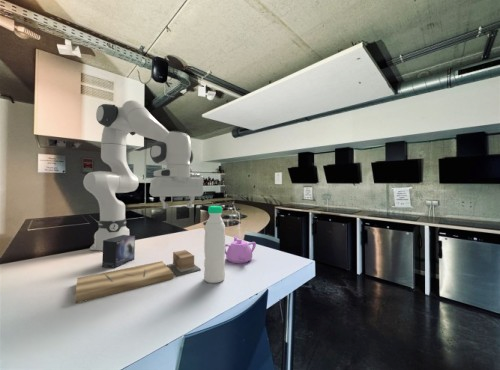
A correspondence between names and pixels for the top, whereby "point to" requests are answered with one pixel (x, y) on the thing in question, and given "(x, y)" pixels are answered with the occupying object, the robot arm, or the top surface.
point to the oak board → (120, 280)
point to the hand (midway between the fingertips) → (177, 207)
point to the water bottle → (214, 246)
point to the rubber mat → (182, 272)
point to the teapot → (239, 251)
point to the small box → (118, 251)
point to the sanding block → (183, 260)
